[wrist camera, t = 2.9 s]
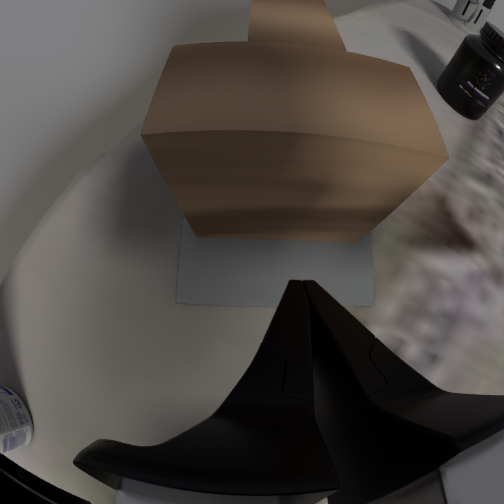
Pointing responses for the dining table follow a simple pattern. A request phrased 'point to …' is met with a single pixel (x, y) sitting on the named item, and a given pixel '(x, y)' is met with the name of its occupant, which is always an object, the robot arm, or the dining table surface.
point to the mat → (270, 270)
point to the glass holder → (471, 14)
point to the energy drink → (13, 422)
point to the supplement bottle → (475, 73)
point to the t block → (289, 131)
